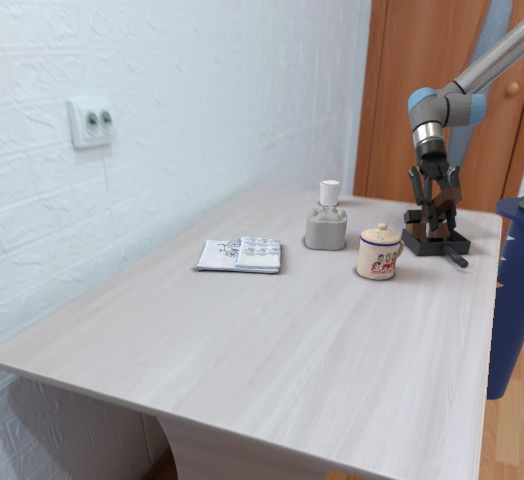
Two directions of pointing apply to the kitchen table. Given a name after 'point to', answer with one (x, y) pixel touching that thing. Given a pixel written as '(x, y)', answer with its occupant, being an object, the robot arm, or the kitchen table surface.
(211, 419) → the kitchen table surface
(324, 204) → the white cup
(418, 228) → the brown cube
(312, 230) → the grey rounded block
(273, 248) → the folded kitchen towel
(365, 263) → the teacup with lid
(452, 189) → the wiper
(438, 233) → the crumb
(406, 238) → the dustpan
